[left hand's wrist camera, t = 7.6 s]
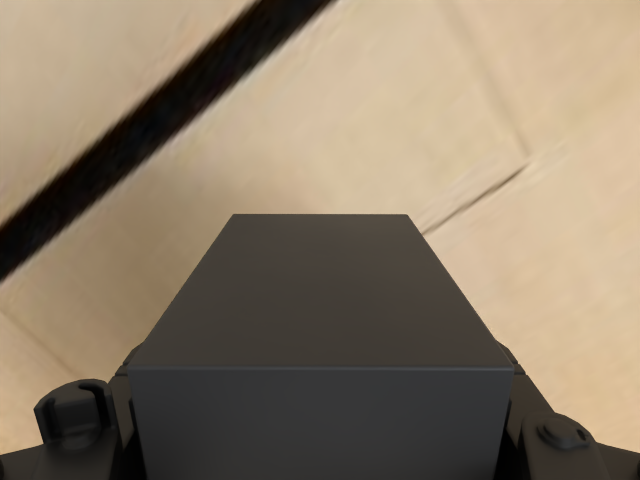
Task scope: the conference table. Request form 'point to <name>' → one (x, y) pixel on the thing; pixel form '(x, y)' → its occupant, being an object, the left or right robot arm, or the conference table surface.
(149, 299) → the conference table surface
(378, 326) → the bar
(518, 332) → the conference table surface
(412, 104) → the conference table surface
